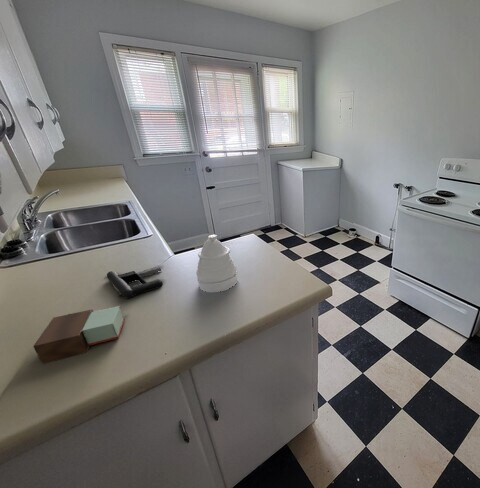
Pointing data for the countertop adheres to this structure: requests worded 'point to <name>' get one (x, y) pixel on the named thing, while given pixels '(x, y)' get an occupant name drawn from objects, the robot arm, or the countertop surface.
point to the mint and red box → (103, 325)
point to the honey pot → (215, 267)
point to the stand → (63, 337)
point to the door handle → (125, 278)
